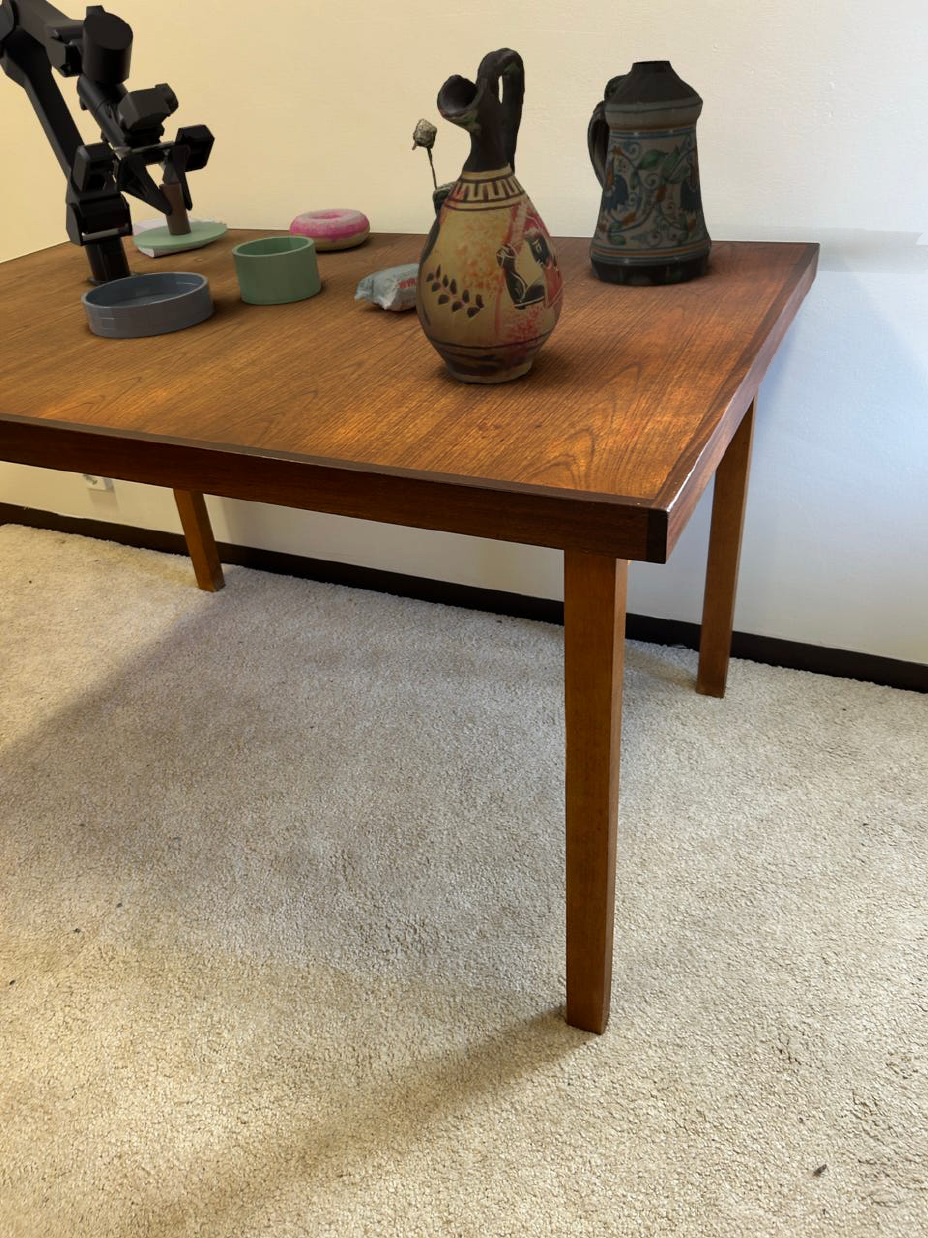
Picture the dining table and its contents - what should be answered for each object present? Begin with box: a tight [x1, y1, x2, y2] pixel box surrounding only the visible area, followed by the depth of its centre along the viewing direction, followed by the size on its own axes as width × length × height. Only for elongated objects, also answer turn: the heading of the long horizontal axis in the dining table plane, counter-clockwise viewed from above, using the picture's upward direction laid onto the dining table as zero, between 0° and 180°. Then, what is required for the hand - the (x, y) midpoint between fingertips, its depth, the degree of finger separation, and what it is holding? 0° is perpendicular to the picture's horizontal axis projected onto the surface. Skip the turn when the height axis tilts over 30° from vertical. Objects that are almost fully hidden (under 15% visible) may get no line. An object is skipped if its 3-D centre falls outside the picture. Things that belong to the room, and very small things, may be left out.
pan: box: [80, 271, 215, 339], centre depth 129 cm, size 17×17×4 cm
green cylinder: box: [231, 235, 322, 306], centre depth 134 cm, size 11×11×6 cm
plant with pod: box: [411, 118, 456, 218], centre depth 135 cm, size 8×11×20 cm
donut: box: [288, 207, 371, 252], centre depth 157 cm, size 14×13×5 cm
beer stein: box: [586, 59, 713, 287], centre depth 125 cm, size 16×19×25 cm
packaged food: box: [354, 262, 419, 312], centre depth 124 cm, size 9×12×5 cm
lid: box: [132, 182, 229, 250], centre depth 124 cm, size 12×12×7 cm
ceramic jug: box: [415, 47, 564, 384], centre depth 95 cm, size 17×15×30 cm
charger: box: [132, 215, 227, 258], centre depth 165 cm, size 5×9×15 cm
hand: (180, 210), depth 123 cm, fingers closed on lid, 3 cm apart
